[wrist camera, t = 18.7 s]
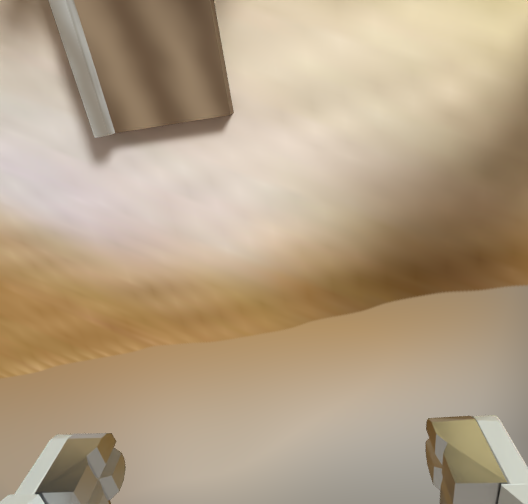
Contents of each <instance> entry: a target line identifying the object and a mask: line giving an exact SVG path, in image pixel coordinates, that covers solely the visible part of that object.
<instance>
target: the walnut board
mask: <svg viewBox="0 0 528 504" xmlns="http://www.w3.org/2000/svg"><path fill="white" fill-rule="evenodd" d="M48 1H49V4H50V7H51V10H52V13H53V16H54V19H55V22H56V25H57V28H58V31H59V34H60V37H61V39H62V42H63V45H64V48H65V51H66V54H67V57H68V60H69V63H70V66H71V69H72V72H73V75H74V78H75V81H76V84H77V87H78V90H79V93H80V96H81V99H82V102H83V105H84V108H85V111H86V114H87V117H88V120H89V123H90V126H91V129H92V132H93V135H94V138H97V137H104V136H109V135H112V134H114V133H119V132H126V131H132V130H139V129H145V128H151V127H158V126H164V125H171V124H177V123H183V122H190V121H196V120H202V119H209V118H215V117H222V116H228V115H231V114H233V113H234V112H233V106H232V101H231V95H230V89H229V84H228V78H227V73H226V67H225V61H224V56H223V50H222V45H221V39H220V33H219V28H218V22H217V17H216V11H215V5H214V0H48Z"/></svg>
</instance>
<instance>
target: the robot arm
mask: <svg viewBox="0 0 528 504" xmlns="http://www.w3.org/2000/svg"><path fill="white" fill-rule="evenodd" d="M426 430H427V433H428V435H429V439H428V440H427V441H426V458H427V465H428V469H429V473H430V476H431V479H432V482H433V485H435V486H436V487H437V488H438V489H439V490H440V504H528V467H527V466H526V464H525V462H524V460H523V459H522V457H521V455H520V453H519V452H518V450H517V448H516V447H515V445H514V443H513V441H512V440H511V438H510V436H509V435H508V433H507V431H506V430H505V428H504V426H503V424H502V423H501V421H500V419H499V418H498V417H497V416H495V415H491V416H489V415H488V416H472V417H471V416H459V417H443V418H428V420H427V424H426ZM115 443H116V440H115V438H114V437H113V435H112V433H104V434H103V433H101V434H100V433H99V434H98V433H97V434H57V435H55V436H54V437H53V438H52V439H51V440H50V441H49V442H48V444H47V445H46V447H45V449H44V450H43V451H42V453H41V455H40V456H39V458H38V459H37V461H36V462H35V464H34V465H33V467H32V468H31V470H30V471H29V473H28V474H27V476H26V477H25V479H24V481H23V482H22V483H21V485H20V486H19V488H18V490H17V491H16V493H15V494H14V495H8V496H7V497H5V498H4V499H3V500H2V501H0V504H111V502H110V500H111V499H112V498H113V497H114V496H115V495H116V494H117V493H118V492H119V491H120V488H121V486H122V483H123V480H124V475H125V460H124V457H123V455H122V453H121V452H120V451H118V450H117V449H115V448H114V446H115Z"/></svg>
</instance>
